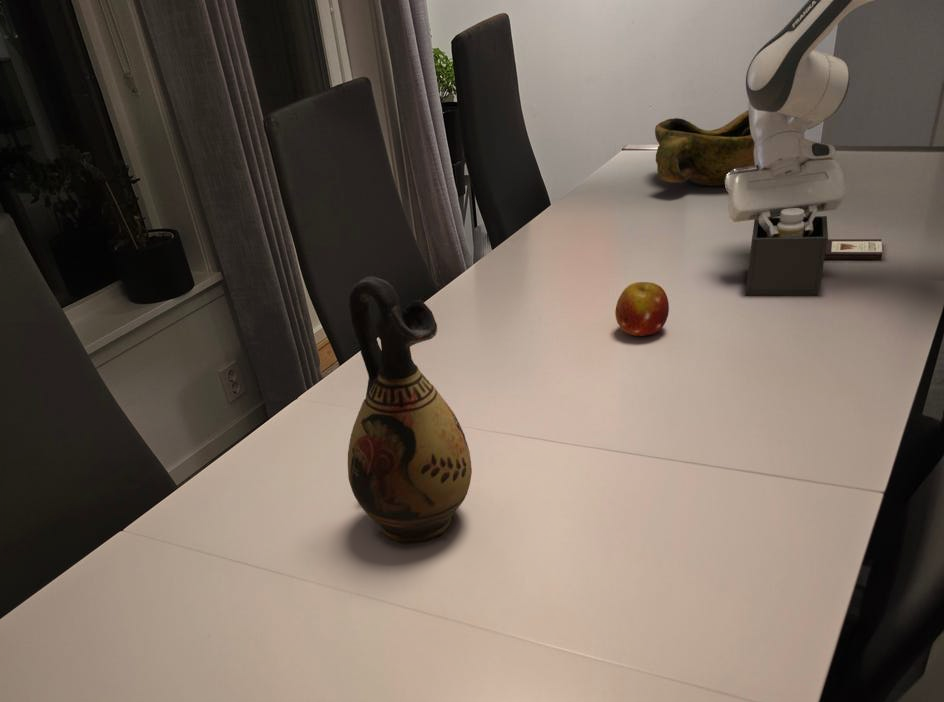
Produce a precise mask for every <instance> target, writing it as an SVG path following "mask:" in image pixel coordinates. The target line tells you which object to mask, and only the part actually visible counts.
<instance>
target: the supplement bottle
mask: <svg viewBox="0 0 944 702" xmlns="http://www.w3.org/2000/svg"><path fill="white" fill-rule="evenodd" d="M804 217H805V213H804V210H803V209H800V208H787V209H784V210H782V211H781V215H780V222H779V223H778V225H777V226H778V231H779V235H778V237H803V232H804V222H803V221H802V220H803V218H804Z"/></svg>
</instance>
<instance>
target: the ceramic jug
mask: <svg viewBox="0 0 944 702" xmlns="http://www.w3.org/2000/svg"><path fill="white" fill-rule="evenodd" d="M348 298H349V299H348V300H349V302H348V304H349V305H348V306H349V311H350V312H349V313H350V317H351V324H352V327H353V331H354V334H355V338H356V339H357V343H358V347H359V351H360V355H361V358H362V360H363V362H364V367H365V370H366V373H367V375H368V379H367V380H368V381H367V386H366V393H365V398H364V400H363V401H362V403H361V405H360V408H359V411H358V414H357V416H356V419H355V421H354V423H353V426H352V430H351V434H350V438H349V443H348V451H347V477H348V478H347V479H348V482H349V485H350V489H351V492H352V494H353V496H354V498H355V499H356V501H357V503H358V505H359V506H360V507H361V509H362V510H363V511H364V512H365V514H366V515H368V516H369V517H370V518H371V519H372V520H374V521H375V522H376V523H378V524H379V527H380V529H381V531H382V533H383V534H385V535H386V536H387V537H388V538H390V539H391V540H394V541H395V542H396V543H399V544H402V545H407V544H414V543H419V542H420V543H421V542H423V543H425V542H429V541H431V540H434V539H438V538H440V537H441V536H443V534H444V532H445V531H447V529H448V528H449V527H450V526H451V523H452V519H451V518H452V516H453V515H454V514H455V513H456V511H457V510H458V509H459V507H461V505H462V504H463V502H464V501H465V499H466V497H467V495H468V492H469V488H470V486H471V478H472V473H473V469H472V460H471V459H472V458H471V451H470V449H469V445H468V442H467V438H466V435H465V433H464V430H463V428H462V426H461V424H460V421H459V420H458V418H457V416H456V414H455V412H454V410H452V408H451V407H450V405H449V404H448V403H447V402H446V400H445V399H444V397H443V396H442V395H441V394H440V392H439V391H438V390H437V388H436V387H435V386H434V385H433V384H432V383H431V382H430V380H429V379H428V378H427V377H426V376H425V375H424V374H423V373H422V372H421V370H420V368H419V367H418V365H417V364H416V363H414V360H413V358H412V351H411V347H412V346H415V345H416V344H420V343H423V342H426V341H430V340H432V339H433V338H434V337H436V335H437V333H438V324H437V321H436V319H435V316H434V314H433V311H432V310H431V309H430V308H429V306H428V305H427V304H426V303H425V302H424V301H422V300H421V299H418V300H417V299H416V300H414V301H413V302H412V303H410V304H409V305H408V306H406V307H405V308H404V309H402V307H401V299H400V297H399V295H398V294H397V292H396V290H395V288H394V287H393V285H392V284H390V283H389V282H388V281H387V280H385V279H383V278H379V277H376V276H374V275H373V276H372V275H370V276H366V277H364V278H362V279H361V280H359V281H357V282H356V283H355V284H354V286H352V289H351V291H350V294H349V297H348ZM370 299H374V302H375V303H376V305H377V308H378V311H379V314H380V318H379V320H378V322H377V324H376V326H375V325H374V321H373V319H372V316H371V312H370V309H371V303H370ZM378 339H379V340H380V345H379V342H378V341H379V340H378Z"/></svg>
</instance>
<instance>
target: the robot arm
mask: <svg viewBox="0 0 944 702" xmlns="http://www.w3.org/2000/svg"><path fill="white" fill-rule="evenodd" d="M873 1H875V0H807V2H806V3H805V4H804V5H803V6H802V7H801V8H800V9H799V11H798V12H797V13H796V14H794V16H793V17H792V19H791V20H790V21H789V22H788V23H787V24H786V25H785V26H784V27H783V28H782V29H781V30H780V31H779V32H778V33H777V34H776V35H774V36H773V37H772V38H771V39H770V40H768V41H767V42H766V43H765V44H764V45H763V46H762V47H761V48H760V49H759V50H758V51H757V52H756V54H755V55H754V56H753V58H752V60H750V61H751V62H750V63H749V65H748V68H747V70H746V75H745V91H746V95H747V99H748V109H747V110H748V111H749V124H750V132H751V136H752V138H753V140H754V151H753V154H754V162H755V166H750V167H745V168H735V169H732V171H731V172H729V173H728V174H727V175H726V177H725V185H724V186H725V190H726V191H727V193H728V197H727V198H728V199H727V213H728V218H729V219H730V220H731V221H732V222H734V223H738V222H746V221H754V220H755V219H759V224H760V226H761V227H762V228H763V229H764V230H765V231H766V232H767V238H776V237H778V235H779V231H778V226H773V225H772V223H771V222H770V220H769V218H772V217H780V215H781V211H782V210H784V209H787V208H800V209H803V210H804V217H805V218H808V217H809V219H808V221H807V222H804V232H803V236H807V235H811V233H812V232H813V224H812V222H813V220H814V217H815V216H817V213H820V212H829V211H834V210H835V211H836V210H837V209H838V208H839V207H840V205H841V204H842V203H843V201H844V200H845V198H846V195H847V188H846V183H845V178H844V174H843V170H842V167H841V165H840V164H839V162H838V161H837V160H834V159H835V156H836V147H835V145H833V144H829V143H824V142H819V141H814V140H810V139H807V138H805V133H806V131H807V130H811V129H813V128H815V127H817V126H818V125H820V124H822V123H823V122H825V121H826V120H828V119H829V118H831V116H833V115H834V114H835V113H837V111H838V110H839V109H840V108H841V106H842V105H843V103H844V102H845V100H846V98H847V94H848V91H849V88H850V79H851V78H850V69H849V67H848V66H849V65H848V64H847V62H846V61H845V60H844V59H842V58H839V57H837V56H835V55H831V54H829V53H825V52H822V51H817V50H816V48H817V47H818V46H819V45H820V44H821V43H822V41H823V40H824V39H826V38H827V36H828V35H830V33H831V32H832V31H833V30H834V29H835V28H836V27H837V25H838V24H839V23H840V22H841V21H842V20H843V19H844V18H845V17H846V16H848V14H850V13H851V12H852V11H854V10H856V8H859V7H861V6H862V5H865V4H867V3H871V2H873Z"/></svg>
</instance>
